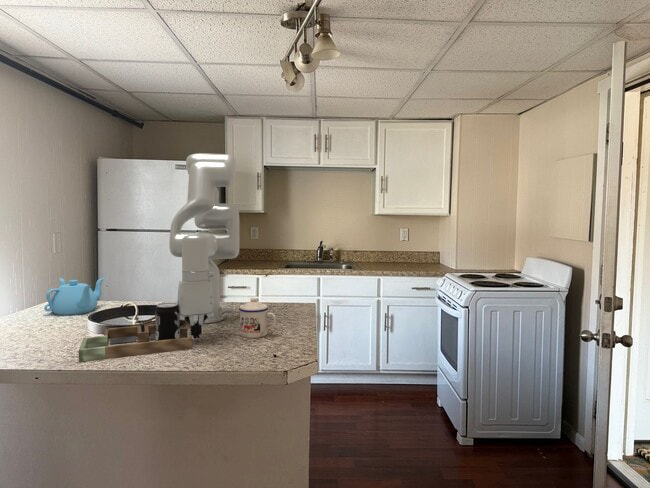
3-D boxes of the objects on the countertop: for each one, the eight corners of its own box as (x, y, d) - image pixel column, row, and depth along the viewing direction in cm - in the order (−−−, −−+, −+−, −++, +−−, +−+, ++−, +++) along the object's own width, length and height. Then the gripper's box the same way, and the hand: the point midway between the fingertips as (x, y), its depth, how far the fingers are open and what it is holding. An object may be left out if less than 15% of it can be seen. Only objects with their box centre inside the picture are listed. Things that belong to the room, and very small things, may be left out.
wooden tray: (184, 330, 138) (184, 321, 138) (192, 348, 120) (191, 338, 120) (86, 340, 126) (86, 330, 126) (79, 361, 108) (78, 350, 108)
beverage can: (172, 349, 119) (171, 307, 118) (151, 347, 120) (150, 306, 119) (184, 342, 125) (183, 302, 125) (164, 340, 127) (163, 301, 126)
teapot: (106, 305, 174) (105, 276, 174) (91, 316, 156) (90, 283, 155) (60, 306, 171) (59, 277, 170) (39, 318, 153) (38, 284, 152)
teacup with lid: (234, 337, 131) (234, 300, 130) (245, 329, 140) (245, 295, 139) (271, 340, 128) (271, 302, 128) (280, 332, 137) (280, 296, 136)
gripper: (218, 273, 131) (219, 331, 132) (167, 276, 125) (168, 336, 126) (223, 277, 124) (223, 337, 126) (169, 279, 118) (170, 343, 119)
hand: (196, 337), depth 126 cm, fingers closed
